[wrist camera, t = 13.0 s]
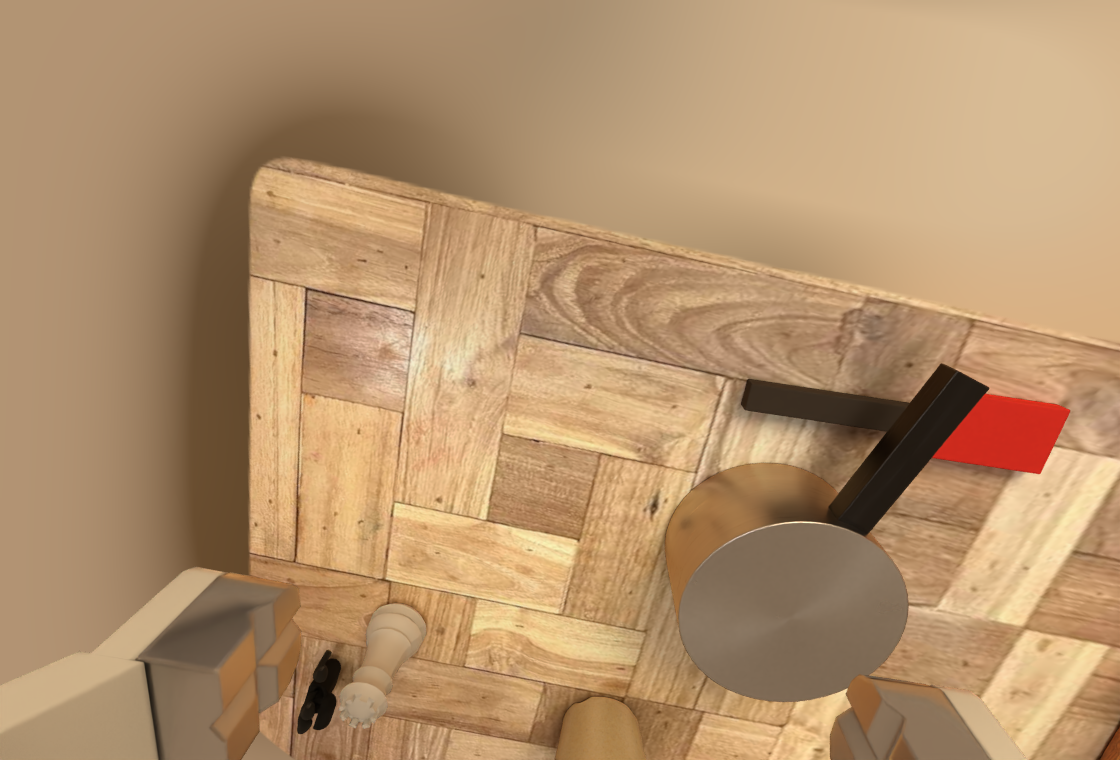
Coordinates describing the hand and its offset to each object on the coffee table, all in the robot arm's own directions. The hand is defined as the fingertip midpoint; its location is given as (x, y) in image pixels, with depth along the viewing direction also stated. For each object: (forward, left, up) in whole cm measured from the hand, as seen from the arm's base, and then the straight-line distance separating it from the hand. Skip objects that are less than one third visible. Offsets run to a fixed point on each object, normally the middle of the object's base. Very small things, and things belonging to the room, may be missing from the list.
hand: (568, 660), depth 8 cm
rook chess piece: (+27, -11, -27) cm, 40 cm away
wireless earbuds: (+33, -16, -27) cm, 46 cm away
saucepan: (+10, +16, -27) cm, 33 cm away
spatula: (+4, +20, -27) cm, 34 cm away
